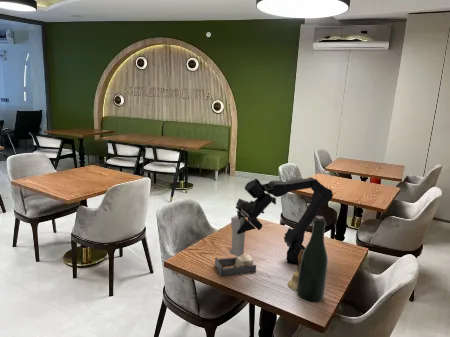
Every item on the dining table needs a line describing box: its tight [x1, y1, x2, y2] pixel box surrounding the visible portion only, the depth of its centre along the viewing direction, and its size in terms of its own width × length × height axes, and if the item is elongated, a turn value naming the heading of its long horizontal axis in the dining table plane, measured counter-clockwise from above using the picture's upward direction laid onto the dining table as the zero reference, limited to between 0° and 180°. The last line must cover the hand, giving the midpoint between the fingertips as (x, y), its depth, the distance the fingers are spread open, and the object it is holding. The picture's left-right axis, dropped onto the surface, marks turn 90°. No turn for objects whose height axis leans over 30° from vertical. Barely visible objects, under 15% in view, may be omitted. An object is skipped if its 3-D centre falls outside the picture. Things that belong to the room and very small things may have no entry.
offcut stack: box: [234, 254, 254, 267], centre depth 149 cm, size 6×6×5 cm
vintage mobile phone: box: [229, 200, 246, 257], centre depth 144 cm, size 4×5×25 cm
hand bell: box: [287, 250, 304, 292], centre depth 136 cm, size 8×8×16 cm
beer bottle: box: [296, 215, 329, 303], centre depth 127 cm, size 10×10×33 cm
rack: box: [214, 256, 257, 277], centre depth 148 cm, size 16×9×4 cm, turn 108°
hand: (234, 230), depth 144 cm, fingers closed on vintage mobile phone, 6 cm apart
